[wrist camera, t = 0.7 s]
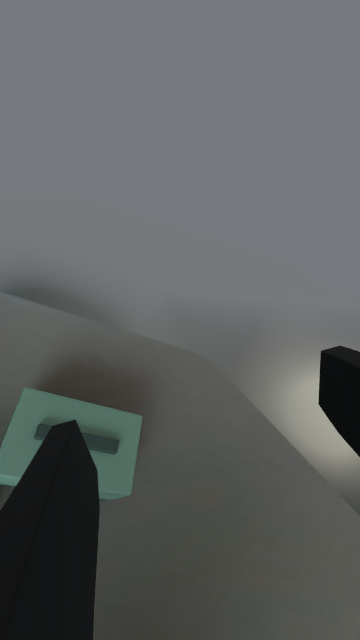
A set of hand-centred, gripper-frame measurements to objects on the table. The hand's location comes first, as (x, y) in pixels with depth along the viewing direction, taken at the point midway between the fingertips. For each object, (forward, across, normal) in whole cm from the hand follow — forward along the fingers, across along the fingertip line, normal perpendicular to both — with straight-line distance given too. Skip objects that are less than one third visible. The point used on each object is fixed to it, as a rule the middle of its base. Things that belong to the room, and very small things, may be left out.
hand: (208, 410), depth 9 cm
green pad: (+11, +9, +10) cm, 17 cm away
